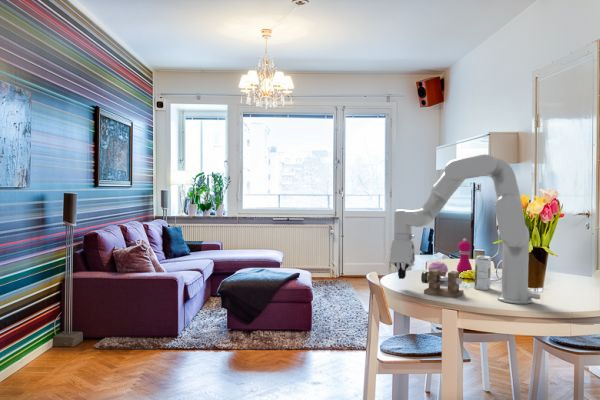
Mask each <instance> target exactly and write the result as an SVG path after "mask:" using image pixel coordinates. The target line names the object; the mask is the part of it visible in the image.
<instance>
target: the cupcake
mask: <svg viewBox="0 0 600 400" xmlns="http://www.w3.org/2000/svg"><path fill="white" fill-rule="evenodd" d="M427 269H428V272H429V271H430V270H433V269H437V270H440V276H442V277H447V273H449V269H448V266H447V264H446V263H445V262H442V261H432V262H431V263H430V264H429V265H428V268H427ZM442 283H443V282H440V284H442Z"/></svg>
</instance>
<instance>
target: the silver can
mask: <svg viewBox="0 0 600 400" xmlns="http://www.w3.org/2000/svg"><path fill="white" fill-rule="evenodd" d="M491 265H492V257H491V256H489V255H477V256H475V265H474V266H475V267H474V289H475V290H481V291H488V290H489V289H490V288H491V274H492V272H491V270H492V267H491Z"/></svg>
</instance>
